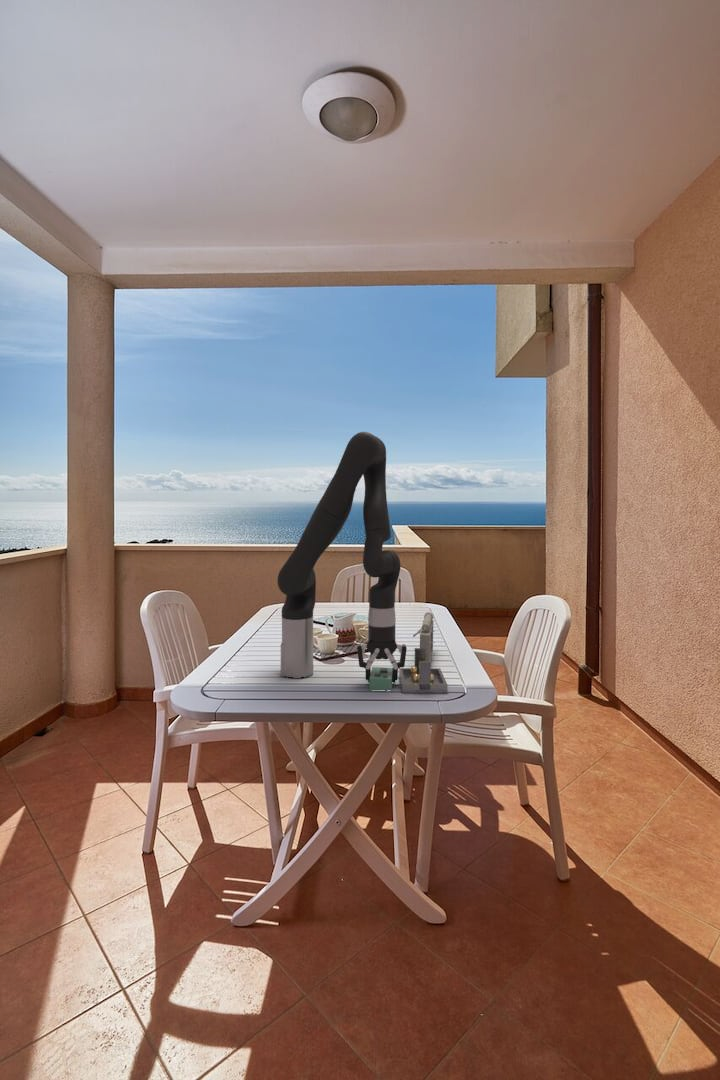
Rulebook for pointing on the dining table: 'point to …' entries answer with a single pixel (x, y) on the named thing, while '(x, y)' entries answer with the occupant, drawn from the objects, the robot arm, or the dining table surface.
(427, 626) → the grey upright lever device
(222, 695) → the dining table surface
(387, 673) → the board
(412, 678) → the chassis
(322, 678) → the dining table surface
